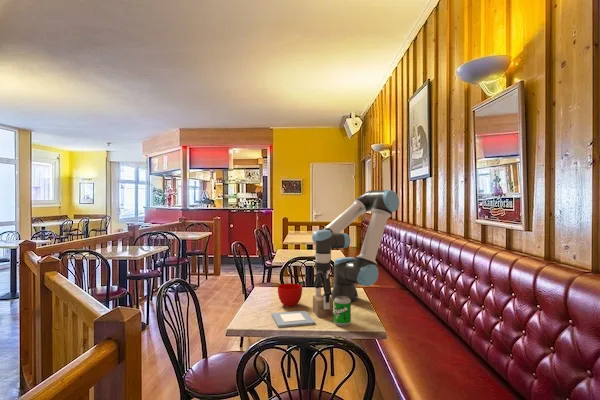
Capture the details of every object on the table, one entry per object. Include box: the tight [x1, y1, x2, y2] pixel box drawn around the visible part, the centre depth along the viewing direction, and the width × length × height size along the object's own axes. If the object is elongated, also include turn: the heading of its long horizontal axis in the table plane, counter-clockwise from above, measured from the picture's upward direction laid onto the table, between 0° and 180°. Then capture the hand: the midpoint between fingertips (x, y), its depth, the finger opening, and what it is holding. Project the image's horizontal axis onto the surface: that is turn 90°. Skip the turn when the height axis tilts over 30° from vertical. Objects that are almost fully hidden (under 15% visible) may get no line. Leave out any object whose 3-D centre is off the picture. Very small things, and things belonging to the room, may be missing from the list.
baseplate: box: [271, 310, 316, 329], centre depth 171 cm, size 17×17×1 cm
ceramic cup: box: [277, 282, 303, 308], centre depth 195 cm, size 13×17×10 cm
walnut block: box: [312, 294, 334, 318], centre depth 180 cm, size 8×8×8 cm
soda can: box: [333, 296, 352, 327], centre depth 165 cm, size 8×8×12 cm
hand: (322, 304), depth 179 cm, fingers open, 13 cm apart
